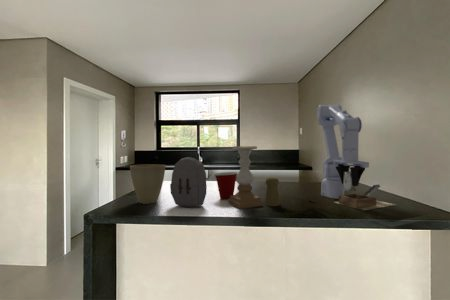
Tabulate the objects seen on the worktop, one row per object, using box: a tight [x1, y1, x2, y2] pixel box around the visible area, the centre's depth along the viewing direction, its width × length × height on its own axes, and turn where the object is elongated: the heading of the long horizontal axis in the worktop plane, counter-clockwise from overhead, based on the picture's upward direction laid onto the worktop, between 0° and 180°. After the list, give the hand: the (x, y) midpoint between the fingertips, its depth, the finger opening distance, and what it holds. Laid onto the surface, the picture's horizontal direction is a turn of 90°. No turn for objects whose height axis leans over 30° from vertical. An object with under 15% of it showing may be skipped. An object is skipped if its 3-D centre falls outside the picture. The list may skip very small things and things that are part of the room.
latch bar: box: [362, 184, 381, 197], centre depth 106 cm, size 9×3×1 cm
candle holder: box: [227, 145, 264, 210], centre depth 107 cm, size 11×11×24 cm
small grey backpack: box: [169, 156, 208, 208], centre depth 104 cm, size 15×8×20 cm, turn 72°
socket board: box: [333, 193, 397, 211], centre depth 103 cm, size 14×18×4 cm
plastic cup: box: [213, 171, 239, 201], centre depth 119 cm, size 11×11×12 cm
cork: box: [264, 177, 281, 207], centre depth 107 cm, size 6×6×11 cm
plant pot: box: [129, 163, 166, 205], centre depth 114 cm, size 15×15×16 cm
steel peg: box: [343, 170, 357, 192], centre depth 100 cm, size 4×4×7 cm
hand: (349, 185), depth 100 cm, fingers closed on steel peg, 4 cm apart
